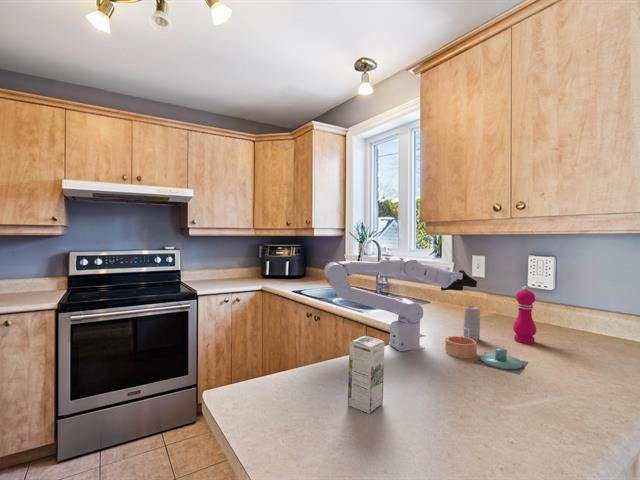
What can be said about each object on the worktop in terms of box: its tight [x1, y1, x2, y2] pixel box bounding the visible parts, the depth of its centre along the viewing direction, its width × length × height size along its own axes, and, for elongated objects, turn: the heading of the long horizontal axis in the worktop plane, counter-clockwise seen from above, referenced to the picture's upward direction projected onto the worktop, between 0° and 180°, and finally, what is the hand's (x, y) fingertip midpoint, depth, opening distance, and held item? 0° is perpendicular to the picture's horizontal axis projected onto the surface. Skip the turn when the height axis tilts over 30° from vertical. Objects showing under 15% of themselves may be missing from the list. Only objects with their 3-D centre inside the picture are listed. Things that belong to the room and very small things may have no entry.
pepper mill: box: [512, 285, 537, 345], centre depth 123 cm, size 7×7×20 cm
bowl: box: [444, 335, 478, 359], centre depth 108 cm, size 9×9×4 cm
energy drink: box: [462, 305, 481, 342], centre depth 123 cm, size 5×5×12 cm
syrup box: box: [347, 335, 385, 414], centre depth 75 cm, size 6×6×14 cm
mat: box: [472, 351, 529, 375], centre depth 101 cm, size 12×12×1 cm
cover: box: [479, 347, 522, 370], centre depth 101 cm, size 11×11×4 cm
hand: (469, 286), depth 117 cm, fingers open, 7 cm apart
